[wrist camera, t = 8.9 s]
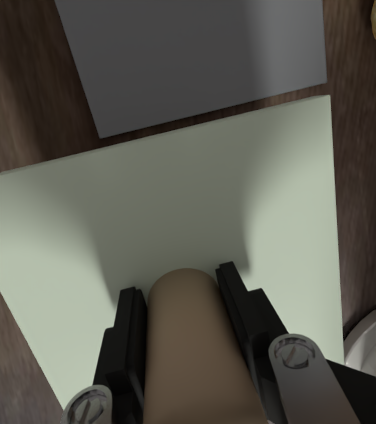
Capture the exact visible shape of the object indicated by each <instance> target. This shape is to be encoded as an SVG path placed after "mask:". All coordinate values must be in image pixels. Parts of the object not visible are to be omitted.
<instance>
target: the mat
mask: <svg viewBox="0 0 376 424" xmlns="http://www.w3.org/2000/svg"><path fill="white" fill-rule="evenodd" d="M55 3H56V6H57V9H58V12H59V15H60V18H61V21H62V25H63V28H64V31H65V34H66V37H67V40H68V43H69V46H70V49H71V52H72V55H73V58H74V61H75V64H76V67H77V70H78V73H79V76H80V79H81V83H82V86H83V89H84V92H85V95H86V98H87V101H88V104H89V107H90V110H91V113H92V116H93V119H94V122H95V125H96V128H97V131H98V134H99V137H100V139H101V138H105V137H109V136H113V135H117V134H121V133H125V132H129V131H133V130H137V129H141V128H145V127H149V126H153V125H157V124H161V123H165V122H169V121H173V120H177V119H181V118H185V117H189V116H193V115H197V114H201V113H206V112H210V111H214V110H218V109H222V108H226V107H230V106H234V105H238V104H242V103H246V102H250V101H254V100H258V99H262V98H266V97H270V96H274V95H278V94H282V93H286V92H290V91H294V90H298V89H302V88H306V87H310V86H314V85H319V84H323V83H327V73H326V56H325V39H324V23H323V6H322V0H55Z"/></svg>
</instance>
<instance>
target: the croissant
mask: <svg viewBox="0 0 376 424" xmlns="http://www.w3.org/2000/svg"><path fill="white" fill-rule="evenodd" d="M371 22H372V32H373V35H374V38H375V39H376V0H375V1H374V4H373V8H372V13H371Z"/></svg>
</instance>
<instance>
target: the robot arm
mask: <svg viewBox="0 0 376 424" xmlns="http://www.w3.org/2000/svg"><path fill="white" fill-rule="evenodd" d="M219 267H220V268H218V269H215V272H216V276H217V281H218V285H219V289H220V292H221V295H222V298H223V300H224V303H225V306H226V309H227V312H228V314H229V317H230V320H231V323H232V326H233V329H234V331H235V334H236V337H237V340H238V343H239V345H240V348H241V351H242V354H243V357H244V360H245V362H246V365H247V368H248V369H249V371H250V374H251V377H252V379H253V382H254V385H255V388H256V391H257V393H258V396H259V399H260V402H261V404H262V407H263V410H264V413H265V416H266V418H267V420H270V421H271V422H273V423H275V424H376V309H375V310H373V311H372V312H371V313H370V314H368V315H367V316H366V317H365V318H363V319H362V320H361V321H360V322H359V323H358V324H357V325H356V326H355V328H354V329H353V330H352V331H351V332H350V333H349V335H348V336H347V338H346V339H345V341H344V342H343V349H344V365H342V364H339V363H336V362H333V361H331V360H328V359H325V357H324V355H323V354H322V352H321V350H320V348H319V347H318V345H317V344H316V343H315V342H314V341H313V340H311V339H310V338H308V337H306V336H304V335H300V334H294V333H293V334H289V332H288V331H287V329H286V327H285V326H284V324H283V322H282V321H281V319H280V317H279V316H278V314H277V312H276V311H275V309H274V307H273V306H272V304H271V302H270V301H269V299H268V297H267V295H266V294H265V292H264V291H263V289H262V288H259V289H255V290H251V291H248V290H247V288H246V286H245V284H244V283H243V281H242V279H241V277H240V275H239V273H238V271H237V269H236V267H235V265H234V263H233V261H230V262H226V263H222V264H219ZM146 329H147V305H146V302H145V299H144V296H143V293H142V290H141V289H137V290H136V288H135V287H130V288H126V289H122V290H120V294H119V300H118V305H117V310H116V315H115V321H114V326H113V327H110V328H106V329H105V331H104V335H103V339H102V344H101V348H100V353H99V357H98V362H97V366H96V370H95V375H94V379H93V384H92V386H89V387H87V388H85V389H83V390H81V391H80V392H79V393H77V394H76V395H75V396H74V397H73V398H72V399H71V400H70V401H69V403H68V404H67V406H66V407H65V409H64V412H63V415H62V418H61V423H60V424H143V412H144V385H145V357H146Z"/></svg>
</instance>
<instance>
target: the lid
mask: <svg viewBox="0 0 376 424" xmlns="http://www.w3.org/2000/svg"><path fill="white" fill-rule="evenodd" d="M230 261H233V263H234V265H235V267H236V269H237V271H238V273H239V275H240V277H241V279H242V281H243V283H244V284H245V286H246V288H247V290H248V291H251V290H255V289H259V288H262V289H263V291H264V292H265V294H266V295H267V297H268V299H269V301H270V302H271V304H272V306H273V307H274V309H275V311H276V312H277V314H278V316H279V317H280V319H281V321H282V322H283V324H284V326H285V327H286V329H287V331H288V332H289V334H293V333H294V334H300V335H304V336H306V337H308V338H310V339H311V340H313V341H314V342H315V343H316V344H317V345H318V347H319V348H320V350H321V352H322V354H323V355H324V357H325V359H328V360H331V361H333V362H336V363H339V364H342V365H344V349H343V330H342V311H341V293H340V274H339V255H338V236H337V217H336V198H335V179H334V160H333V141H332V122H331V103H330V95H321V96H313V97H309V98H304V99H300V100H296V101H292V102H288V103H284V104H280V105H276V106H272V107H267V108H263V109H259V110H255V111H251V112H247V113H243V114H239V115H235V116H231V117H226V118H222V119H218V120H214V121H210V122H206V123H202V124H198V125H194V126H190V127H185V128H181V129H177V130H173V131H169V132H165V133H161V134H157V135H153V136H148V137H144V138H140V139H136V140H132V141H128V142H124V143H120V144H116V145H112V146H107V147H103V148H99V149H95V150H91V151H87V152H83V153H79V154H75V155H71V156H66V157H62V158H58V159H54V160H50V161H46V162H42V163H38V164H34V165H29V166H25V167H21V168H17V169H13V170H9V171H5V172H1V173H0V292H1V294H2V296H3V297H4V299H5V301H6V303H7V305H8V307H9V309H10V310H11V312H12V314H13V316H14V318H15V320H16V322H17V324H18V325H19V327H20V329H21V331H22V333H23V335H24V337H25V339H26V340H27V342H28V344H29V346H30V348H31V350H32V352H33V354H34V355H35V357H36V359H37V361H38V363H39V365H40V367H41V368H42V370H43V372H44V374H45V376H46V378H47V380H48V382H49V383H50V385H51V387H52V389H53V391H54V393H55V395H56V397H57V398H58V400H59V402H60V404H61V406H62V408H63V410H64V409H65V407H66V406H67V404H68V403H69V401H70V400H71V399H72V398H73V397H74V396H75V395H76V394H77V393H79V392H80V391H81V390H83V389H85V388H87V387H89V386H92V384H93V379H94V375H95V370H96V366H97V362H98V357H99V353H100V348H101V344H102V339H103V335H104V331H105V329H106V328H110V327H113V326H114V321H115V315H116V310H117V305H118V300H119V294H120V290H122V289H126V288H130V287H135V288H136V290H137V289H141V290H142V293H143V296H144V299H145V302H146V305H147V329H146V357H145V385H144V412H143V424H268V421H267V418H266V416H265V413H264V410H263V407H262V404H261V402H260V399H259V396H258V393H257V391H256V388H255V385H254V382H253V379H252V377H251V374H250V371H249V369H248V368H247V365H246V362H245V360H244V357H243V354H242V351H241V348H240V345H239V343H238V340H237V337H236V334H235V331H234V329H233V326H232V323H231V320H230V317H229V314H228V312H227V309H226V306H225V303H224V300H223V298H222V295H221V292H220V289H219V285H218V281H217V276H216V272H215V269H218V268H220V267H219V264H222V263H226V262H230Z"/></svg>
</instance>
